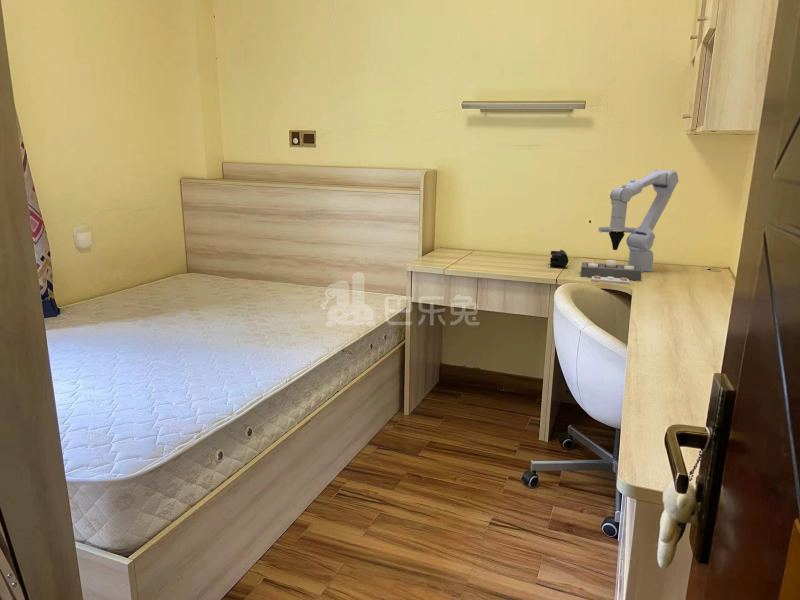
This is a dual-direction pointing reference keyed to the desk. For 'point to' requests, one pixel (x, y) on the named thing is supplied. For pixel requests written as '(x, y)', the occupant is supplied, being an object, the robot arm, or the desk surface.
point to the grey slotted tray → (611, 271)
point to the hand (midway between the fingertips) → (614, 249)
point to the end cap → (558, 259)
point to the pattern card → (610, 279)
